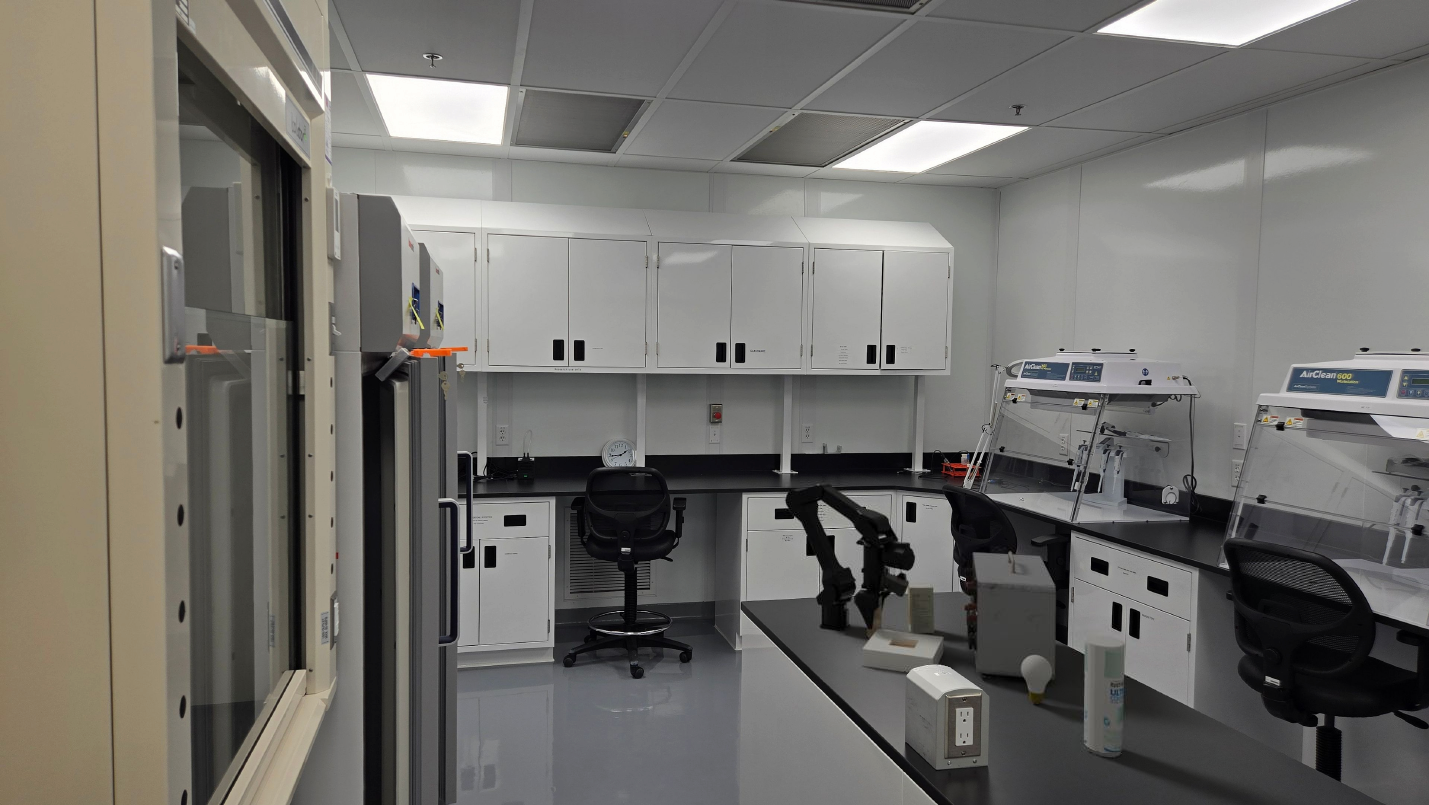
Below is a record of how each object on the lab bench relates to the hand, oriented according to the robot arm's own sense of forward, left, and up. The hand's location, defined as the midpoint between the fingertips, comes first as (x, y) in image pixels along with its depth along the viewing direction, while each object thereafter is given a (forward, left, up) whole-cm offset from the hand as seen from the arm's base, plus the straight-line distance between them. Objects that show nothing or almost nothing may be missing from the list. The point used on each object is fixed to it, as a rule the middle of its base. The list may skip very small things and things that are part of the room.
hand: (874, 623), depth 210 cm
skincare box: (+10, +10, -4) cm, 15 cm away
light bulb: (+40, -28, -4) cm, 49 cm away
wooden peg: (0, 0, -4) cm, 4 cm away
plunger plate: (+10, -13, -2) cm, 17 cm away
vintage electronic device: (+32, -3, -4) cm, 32 cm away
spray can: (+52, -45, -4) cm, 69 cm away
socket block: (+10, -13, -4) cm, 17 cm away
